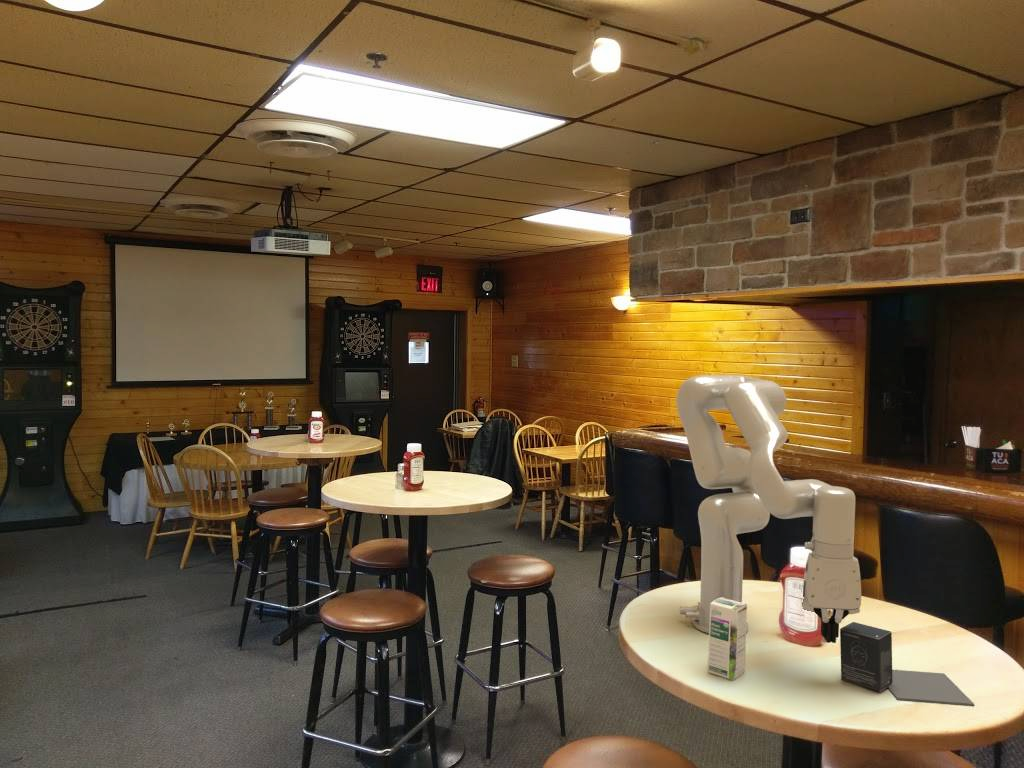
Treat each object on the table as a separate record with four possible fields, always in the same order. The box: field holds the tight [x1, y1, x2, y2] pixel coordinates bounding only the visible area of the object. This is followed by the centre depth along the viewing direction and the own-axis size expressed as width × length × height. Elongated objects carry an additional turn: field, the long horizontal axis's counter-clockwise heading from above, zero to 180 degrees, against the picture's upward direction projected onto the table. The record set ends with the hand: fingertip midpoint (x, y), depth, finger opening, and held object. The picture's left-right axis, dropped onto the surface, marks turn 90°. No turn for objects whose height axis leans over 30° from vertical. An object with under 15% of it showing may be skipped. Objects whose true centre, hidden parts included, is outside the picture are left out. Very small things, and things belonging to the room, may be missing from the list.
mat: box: [887, 669, 975, 707], centre depth 145 cm, size 14×13×1 cm
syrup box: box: [707, 597, 748, 681], centre depth 150 cm, size 6×6×14 cm
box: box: [839, 621, 893, 692], centre depth 146 cm, size 8×6×11 cm
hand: (829, 640), depth 147 cm, fingers closed
